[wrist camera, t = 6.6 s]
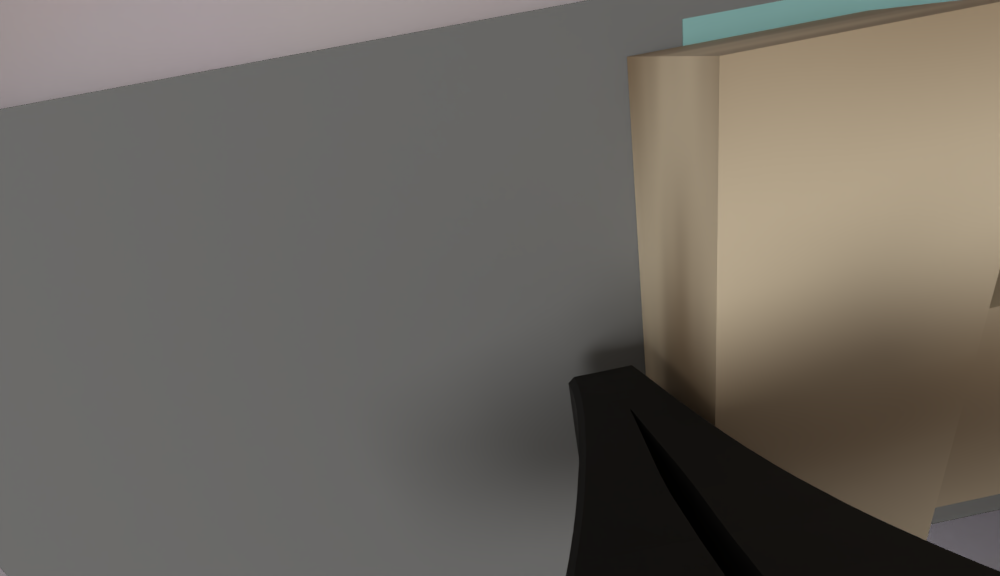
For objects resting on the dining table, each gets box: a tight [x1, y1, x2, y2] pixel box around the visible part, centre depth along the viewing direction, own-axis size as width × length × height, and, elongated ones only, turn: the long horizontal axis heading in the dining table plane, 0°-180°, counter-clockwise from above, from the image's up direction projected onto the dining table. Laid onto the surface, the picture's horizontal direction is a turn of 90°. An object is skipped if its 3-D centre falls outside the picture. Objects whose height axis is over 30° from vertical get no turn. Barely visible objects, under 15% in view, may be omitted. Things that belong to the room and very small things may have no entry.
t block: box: [627, 0, 1000, 540], centre depth 9 cm, size 12×12×3 cm
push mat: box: [0, 0, 1000, 576], centre depth 11 cm, size 14×30×1 cm, turn 100°
